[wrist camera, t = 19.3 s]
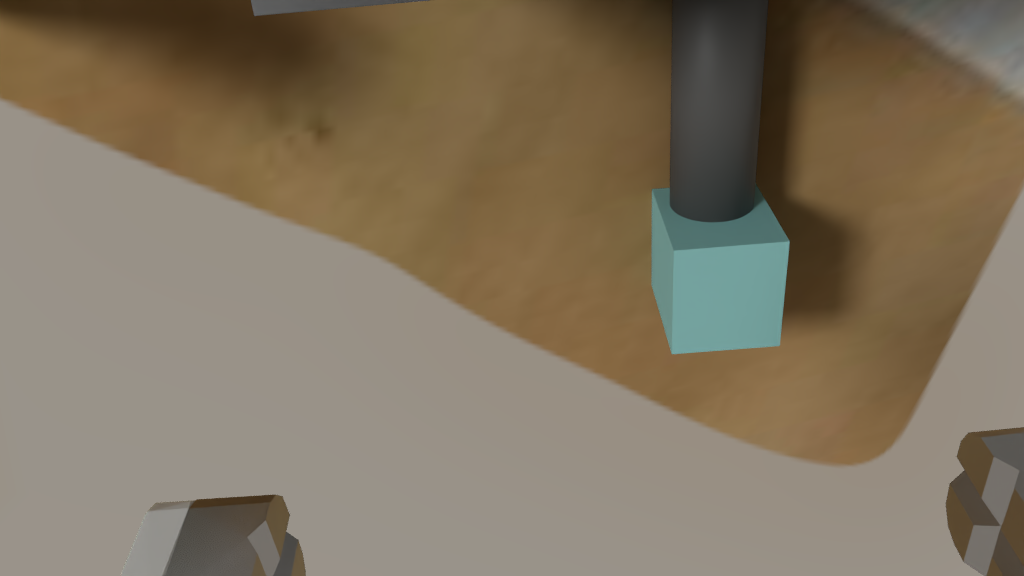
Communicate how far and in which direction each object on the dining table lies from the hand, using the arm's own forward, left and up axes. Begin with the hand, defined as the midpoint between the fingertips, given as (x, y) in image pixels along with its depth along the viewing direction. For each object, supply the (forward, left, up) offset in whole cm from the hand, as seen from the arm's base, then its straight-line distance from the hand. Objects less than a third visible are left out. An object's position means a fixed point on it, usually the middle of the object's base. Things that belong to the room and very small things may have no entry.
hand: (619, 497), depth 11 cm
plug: (+4, +5, -21) cm, 22 cm away
